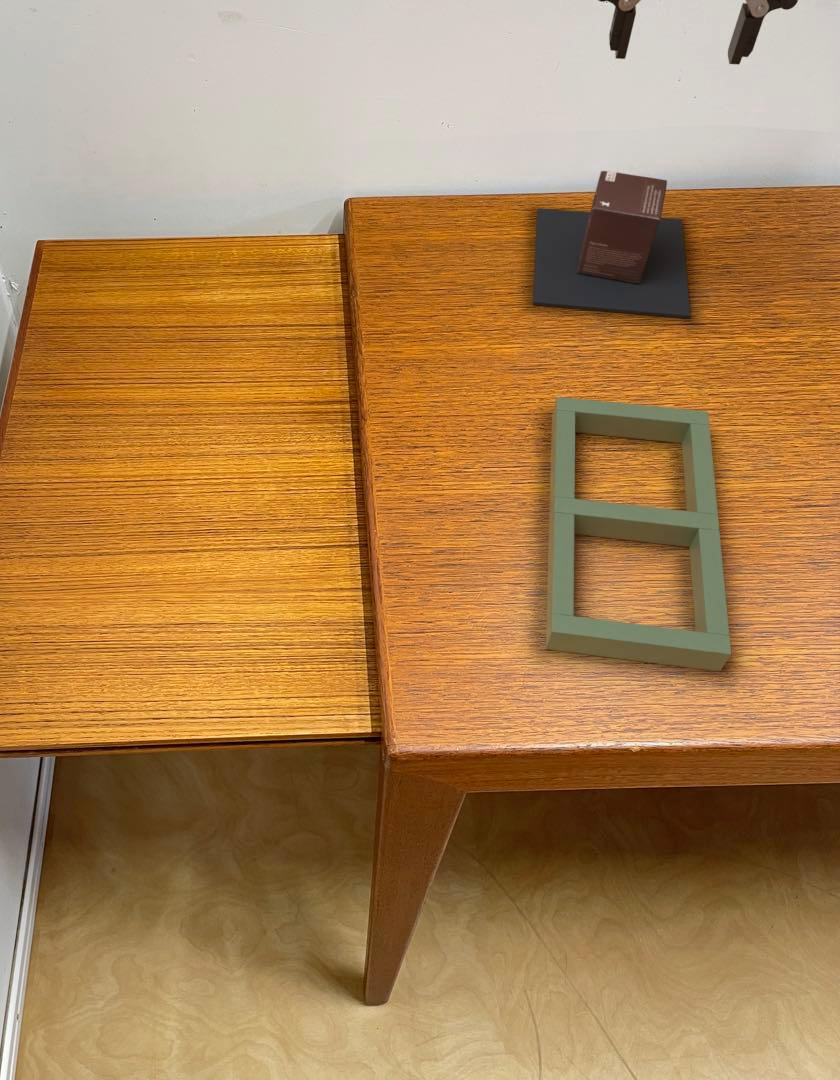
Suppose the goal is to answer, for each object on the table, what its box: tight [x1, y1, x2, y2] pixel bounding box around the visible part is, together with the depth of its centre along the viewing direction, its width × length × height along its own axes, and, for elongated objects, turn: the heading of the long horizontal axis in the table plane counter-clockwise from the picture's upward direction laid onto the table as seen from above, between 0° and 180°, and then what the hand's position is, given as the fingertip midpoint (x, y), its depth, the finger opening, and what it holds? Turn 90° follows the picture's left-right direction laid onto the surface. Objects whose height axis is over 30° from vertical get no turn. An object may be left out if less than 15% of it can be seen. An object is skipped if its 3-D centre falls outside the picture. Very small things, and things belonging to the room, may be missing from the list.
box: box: [577, 170, 668, 283], centre depth 91 cm, size 6×6×7 cm
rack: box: [545, 396, 732, 672], centre depth 75 cm, size 22×12×2 cm, turn 170°
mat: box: [532, 208, 691, 320], centre depth 94 cm, size 14×14×1 cm
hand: (675, 56), depth 77 cm, fingers open, 8 cm apart
